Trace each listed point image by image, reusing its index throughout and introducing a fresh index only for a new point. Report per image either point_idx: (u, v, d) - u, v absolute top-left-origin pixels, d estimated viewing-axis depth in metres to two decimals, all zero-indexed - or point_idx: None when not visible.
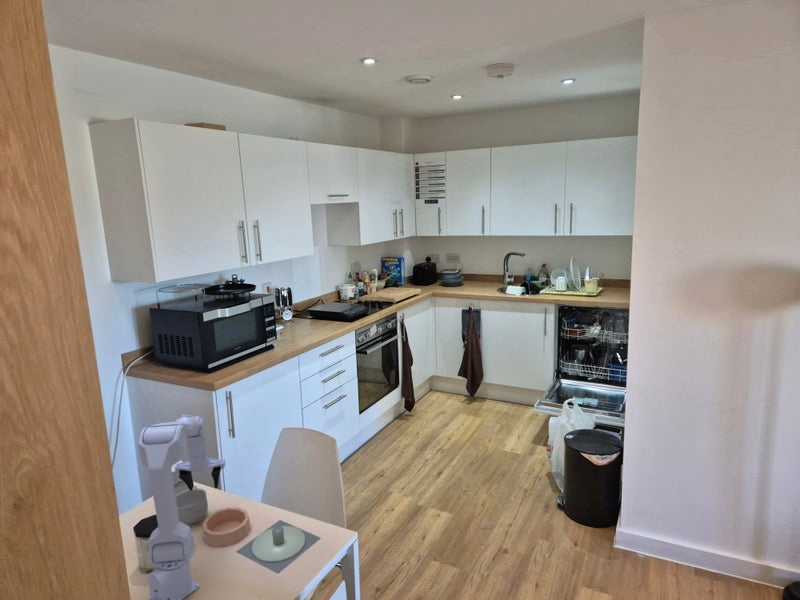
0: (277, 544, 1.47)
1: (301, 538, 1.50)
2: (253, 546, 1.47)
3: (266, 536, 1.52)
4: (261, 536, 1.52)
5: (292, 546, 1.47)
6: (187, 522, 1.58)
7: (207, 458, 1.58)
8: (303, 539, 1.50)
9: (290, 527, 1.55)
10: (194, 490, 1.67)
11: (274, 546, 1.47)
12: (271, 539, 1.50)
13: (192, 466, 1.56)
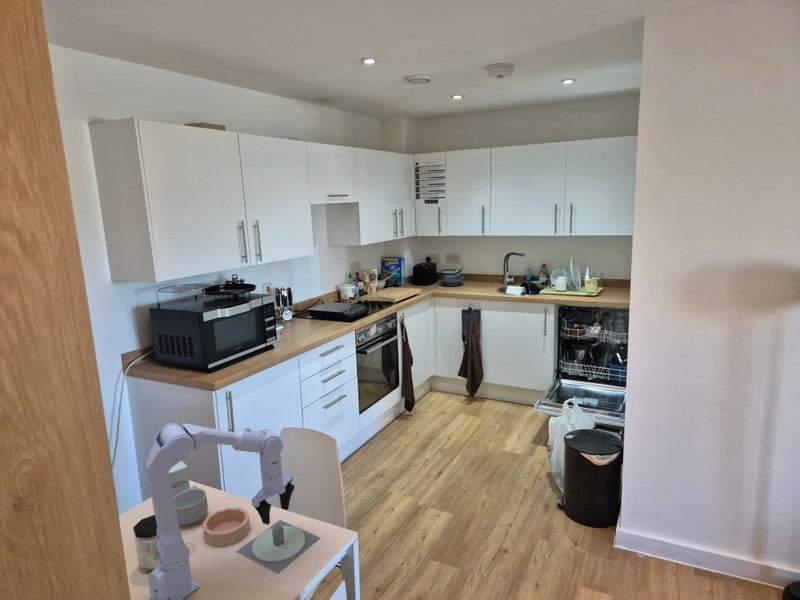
0: (277, 544, 1.47)
1: (301, 538, 1.50)
2: (253, 546, 1.47)
3: (266, 536, 1.52)
4: (261, 536, 1.52)
5: (292, 546, 1.47)
6: (187, 522, 1.58)
7: (263, 484, 1.44)
8: (303, 538, 1.50)
9: (290, 527, 1.55)
10: (194, 490, 1.67)
11: (274, 546, 1.47)
12: (271, 539, 1.50)
13: None
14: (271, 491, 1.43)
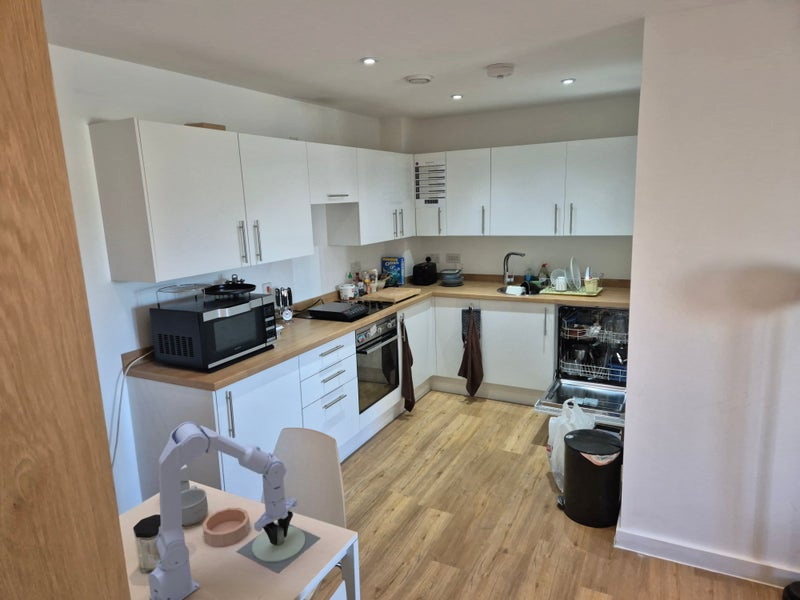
0: (277, 544, 1.47)
1: (301, 538, 1.50)
2: (253, 546, 1.47)
3: (266, 536, 1.52)
4: (261, 536, 1.52)
5: (292, 546, 1.47)
6: (187, 522, 1.58)
7: (266, 508, 1.45)
8: (303, 538, 1.50)
9: (290, 527, 1.55)
10: (194, 490, 1.67)
11: (274, 546, 1.47)
12: None
13: None
14: (274, 516, 1.44)
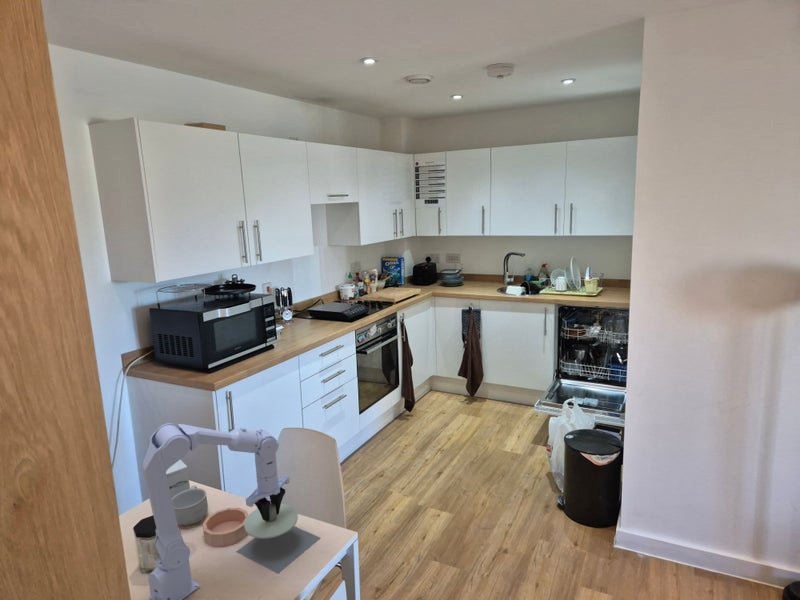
0: (269, 521, 1.46)
1: (294, 515, 1.49)
2: (245, 523, 1.47)
3: (258, 513, 1.51)
4: (253, 513, 1.51)
5: (284, 522, 1.46)
6: (187, 522, 1.58)
7: (258, 484, 1.44)
8: (295, 515, 1.49)
9: (283, 505, 1.55)
10: (194, 490, 1.67)
11: (266, 523, 1.46)
12: None
13: None
14: (265, 491, 1.43)
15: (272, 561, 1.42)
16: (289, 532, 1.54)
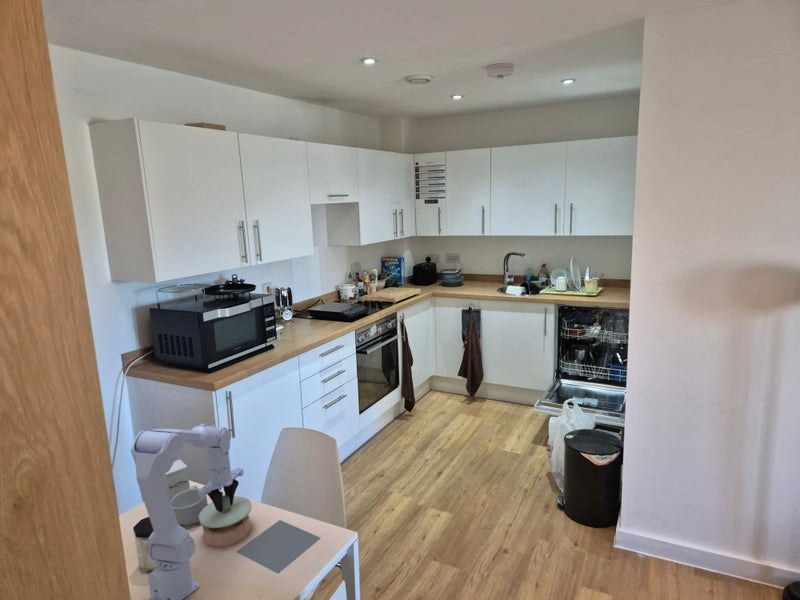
0: (223, 511, 1.52)
1: (247, 505, 1.55)
2: (200, 515, 1.52)
3: (214, 506, 1.57)
4: (209, 506, 1.57)
5: (238, 512, 1.52)
6: (187, 522, 1.58)
7: (211, 476, 1.50)
8: (249, 506, 1.55)
9: (238, 497, 1.61)
10: (194, 490, 1.67)
11: (220, 513, 1.52)
12: None
13: None
14: (218, 483, 1.49)
15: (272, 561, 1.42)
16: (289, 532, 1.54)
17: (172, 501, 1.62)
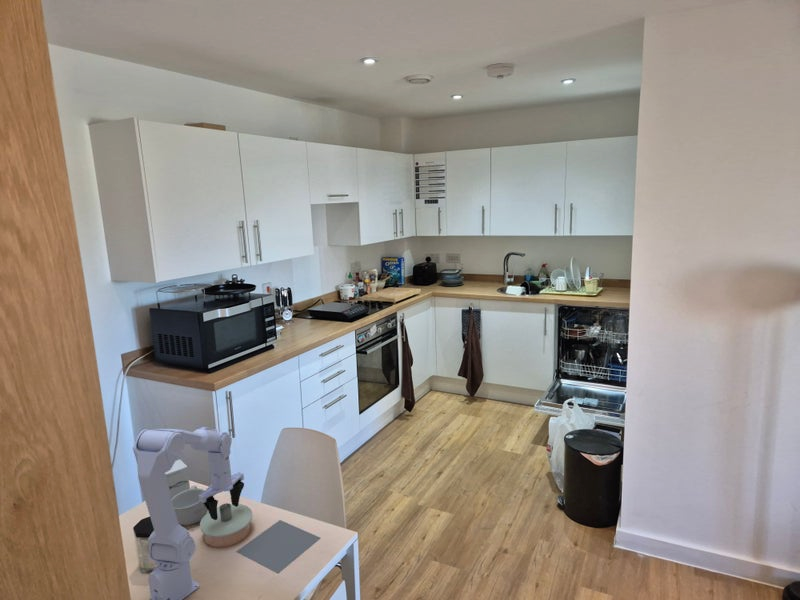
0: (224, 520, 1.53)
1: (248, 514, 1.56)
2: (201, 522, 1.53)
3: None
4: None
5: (239, 521, 1.53)
6: (187, 522, 1.58)
7: (211, 481, 1.50)
8: (250, 515, 1.56)
9: (239, 505, 1.61)
10: (194, 490, 1.67)
11: (221, 522, 1.53)
12: (219, 516, 1.56)
13: None
14: (218, 488, 1.50)
15: (272, 561, 1.42)
16: (289, 532, 1.54)
17: (172, 501, 1.62)
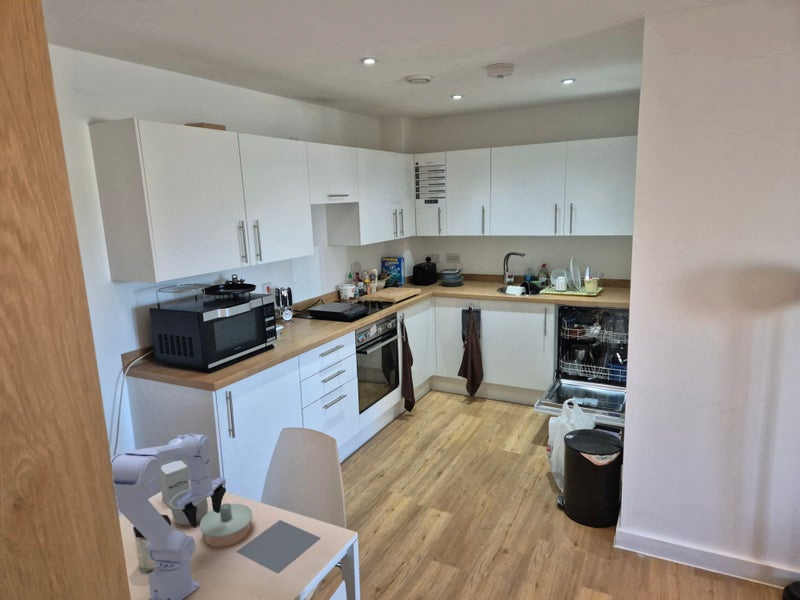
0: (224, 520, 1.53)
1: (248, 514, 1.56)
2: (201, 522, 1.53)
3: (214, 513, 1.57)
4: (210, 513, 1.57)
5: (239, 521, 1.53)
6: (187, 522, 1.58)
7: (190, 486, 1.42)
8: (250, 515, 1.56)
9: (239, 505, 1.61)
10: None
11: (221, 522, 1.53)
12: (219, 516, 1.56)
13: None
14: (198, 494, 1.41)
15: (272, 561, 1.42)
16: (289, 532, 1.54)
17: (172, 501, 1.62)
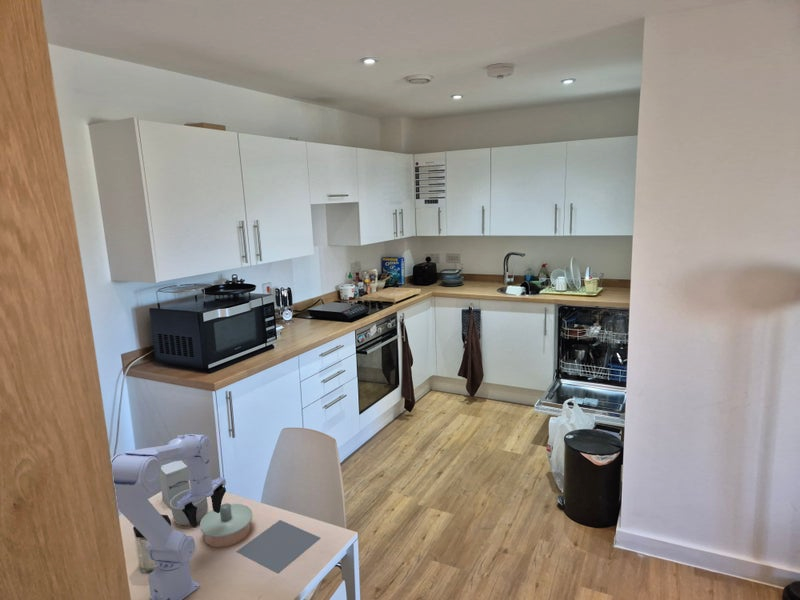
0: (224, 520, 1.53)
1: (248, 514, 1.56)
2: (201, 522, 1.53)
3: (214, 513, 1.57)
4: (210, 513, 1.57)
5: (239, 521, 1.53)
6: (187, 522, 1.58)
7: (190, 486, 1.42)
8: (250, 515, 1.56)
9: (239, 505, 1.61)
10: None
11: (221, 522, 1.53)
12: (219, 516, 1.56)
13: None
14: (198, 494, 1.41)
15: (272, 561, 1.42)
16: (289, 532, 1.54)
17: (172, 501, 1.62)
